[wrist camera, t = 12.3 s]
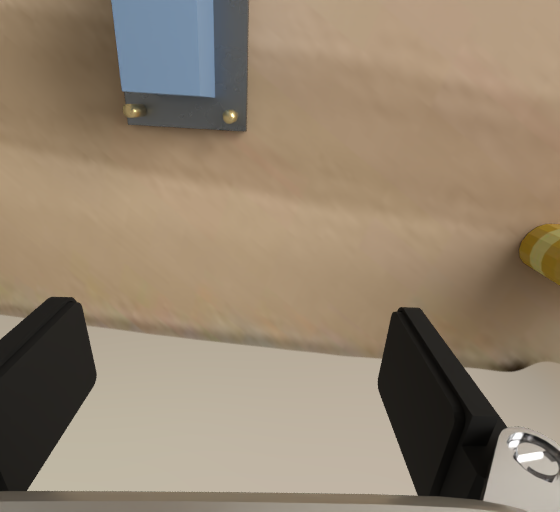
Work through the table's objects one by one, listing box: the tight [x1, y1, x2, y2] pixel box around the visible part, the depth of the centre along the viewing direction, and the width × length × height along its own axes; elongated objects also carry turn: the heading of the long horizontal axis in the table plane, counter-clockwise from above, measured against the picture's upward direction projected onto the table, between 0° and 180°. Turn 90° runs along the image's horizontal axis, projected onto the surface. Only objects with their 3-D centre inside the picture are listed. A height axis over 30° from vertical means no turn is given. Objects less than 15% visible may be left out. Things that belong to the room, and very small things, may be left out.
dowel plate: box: [123, 0, 249, 131], centre depth 31 cm, size 12×18×4 cm, turn 177°
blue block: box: [111, 0, 215, 98], centre depth 28 cm, size 12×6×8 cm, turn 177°
